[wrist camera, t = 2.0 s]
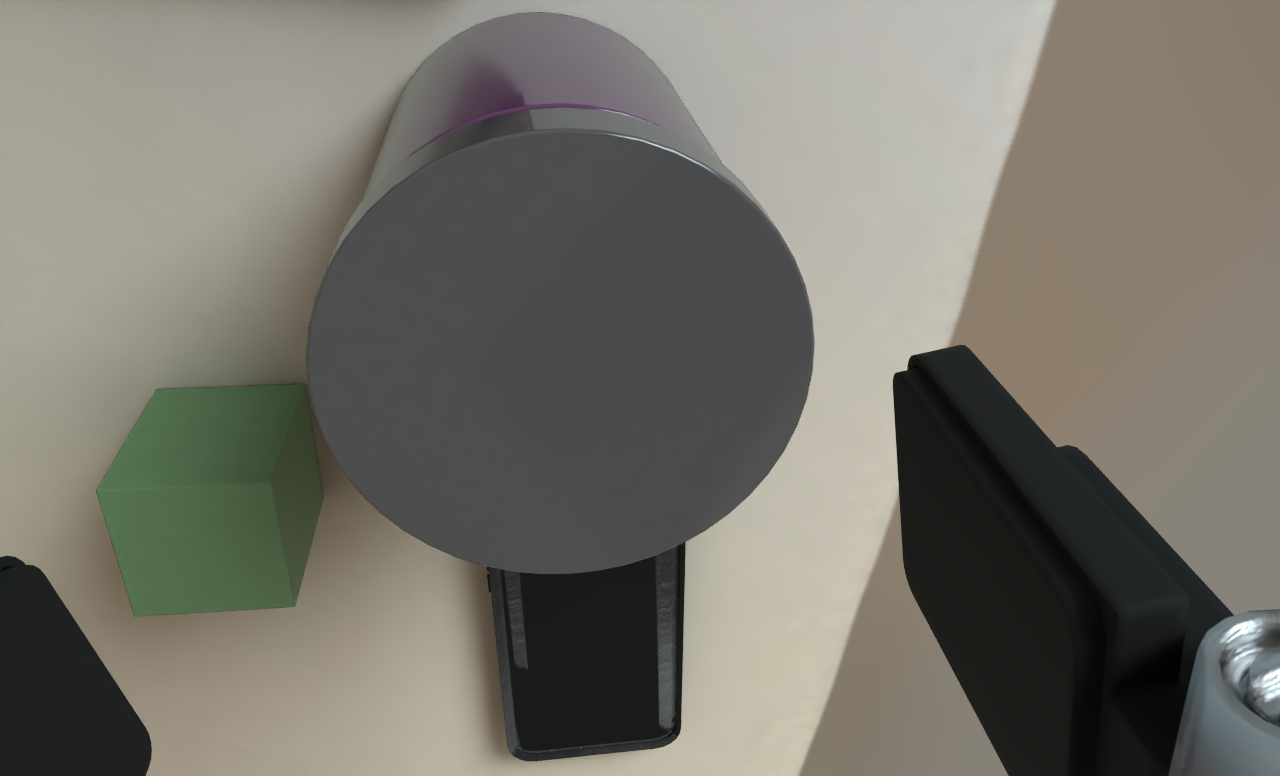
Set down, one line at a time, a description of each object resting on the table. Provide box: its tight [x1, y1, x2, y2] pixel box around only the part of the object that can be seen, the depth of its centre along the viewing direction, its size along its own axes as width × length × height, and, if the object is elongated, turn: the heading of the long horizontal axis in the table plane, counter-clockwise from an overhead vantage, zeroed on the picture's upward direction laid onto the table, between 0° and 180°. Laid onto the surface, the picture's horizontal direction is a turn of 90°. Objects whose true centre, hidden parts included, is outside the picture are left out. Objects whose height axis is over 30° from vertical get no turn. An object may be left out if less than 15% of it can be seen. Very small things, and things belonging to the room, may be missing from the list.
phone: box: [487, 542, 685, 761], centre depth 41 cm, size 8×1×15 cm
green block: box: [96, 384, 323, 616], centre depth 33 cm, size 5×5×6 cm
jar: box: [306, 12, 814, 574], centre depth 26 cm, size 10×10×14 cm
